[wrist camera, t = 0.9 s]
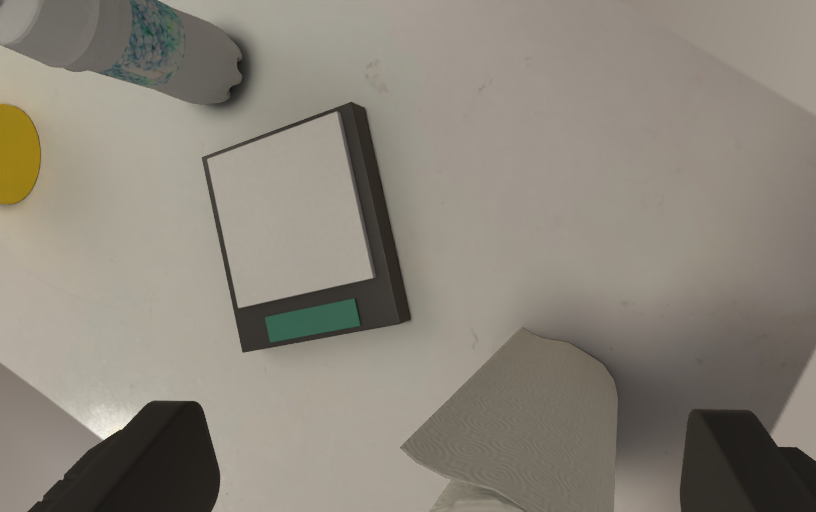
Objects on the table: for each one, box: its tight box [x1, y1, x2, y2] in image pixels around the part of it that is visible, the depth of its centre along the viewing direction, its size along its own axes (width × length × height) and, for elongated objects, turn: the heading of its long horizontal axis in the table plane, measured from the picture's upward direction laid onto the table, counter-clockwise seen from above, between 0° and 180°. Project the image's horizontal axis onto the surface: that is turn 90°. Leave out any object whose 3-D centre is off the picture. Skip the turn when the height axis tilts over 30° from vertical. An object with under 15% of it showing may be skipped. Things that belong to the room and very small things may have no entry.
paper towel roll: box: [400, 327, 618, 512], centre depth 25 cm, size 7×6×21 cm
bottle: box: [0, 0, 242, 105], centre depth 35 cm, size 7×7×20 cm
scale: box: [202, 102, 410, 352], centre depth 41 cm, size 16×14×3 cm
